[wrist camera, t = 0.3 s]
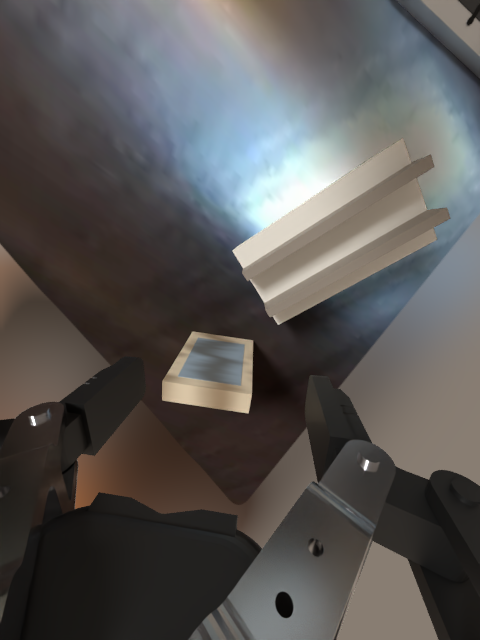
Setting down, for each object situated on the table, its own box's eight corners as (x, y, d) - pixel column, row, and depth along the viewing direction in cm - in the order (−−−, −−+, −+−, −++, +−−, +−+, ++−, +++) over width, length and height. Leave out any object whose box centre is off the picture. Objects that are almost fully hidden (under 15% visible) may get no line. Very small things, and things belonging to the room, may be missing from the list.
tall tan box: (191, 346, 35) (162, 400, 24) (192, 331, 34) (162, 380, 23) (250, 354, 35) (248, 413, 24) (253, 340, 34) (252, 394, 23)
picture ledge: (274, 311, 32) (280, 333, 25) (236, 247, 30) (229, 253, 23) (407, 237, 28) (457, 240, 21) (376, 154, 25) (422, 126, 18)
